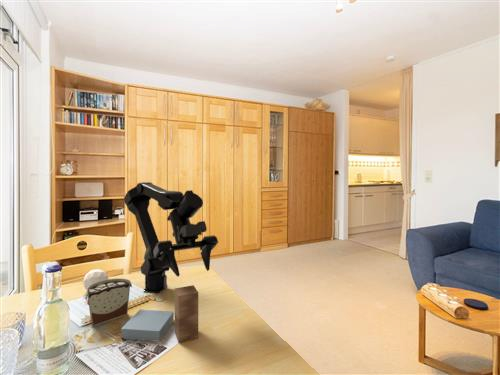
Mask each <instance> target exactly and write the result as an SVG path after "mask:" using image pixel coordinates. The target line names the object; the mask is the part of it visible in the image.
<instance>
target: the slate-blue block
mask: <svg viewBox="0 0 500 375" xmlns="http://www.w3.org/2000/svg"><path fill="white" fill-rule="evenodd" d="M173 321H175V310H174V311H171V310H157V309H156V310H155V309H154V310H153V309H139V310H138V311H137V312H136V313H135V314H134V315H133V316H132V317H131V318H130V319H129V320H128V321H127V322H126V323H125V324H124V325H123V326H122V327H121V329H120V330H121V332H120V334H121V335H120V339H121V338H124V339H123V340H135V339H145V340H144V341H151V340H160V341H161V339H162V338H163V336H164V335H165V333H166V332H167V330H168V329H169V328H170V326H171V324H172V323H173ZM161 337H162V338H161Z"/></svg>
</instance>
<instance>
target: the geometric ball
mask: <svg viewBox="0 0 500 375" xmlns="http://www.w3.org/2000/svg"><path fill="white" fill-rule="evenodd" d="M108 279H109V277H108V273H107V272H106V271H104V270H102V269H100V268H98V269H91V270H90V271H88V272H87V273H86V274H85V275H84V278H83V280H82V284H83V287H84V289H85V290H86V291H87V289H88V287H90V286H91V285H93V284H95V283H97V282H100V281H103V280H108Z"/></svg>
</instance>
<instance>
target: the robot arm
mask: <svg viewBox="0 0 500 375" xmlns="http://www.w3.org/2000/svg"><path fill="white" fill-rule="evenodd" d="M123 197H124V198H123V200H124V202H123V203H124V205H125V206H126V208H127V209H128V211H129V212H131V214H133V215H134V216H135V219H136V222H137V225H138V228H139V232H140V235H141V237H142V240H143V243H144V247H145V252H144V256H143V259H144V261H143V263H142V264H141V266H140V273H141V274H142V275H144V276H145V277H144V280H145V281H144V286H145V287H144V289H143V290H145V291H147V292H146V293H162V291H163V290H164V289H166V287H167V286H168V282H167V279H168V276H167V274H166V272H169V271H170V269H171V271H172V272H173V273H174V275H175V276H176V277H177V278H178V277H180V270H179V266H178V263H177V259H176V256H175V252H176V251H183V250H190V249H198V248H199V249H200V251H201V252H200V256H201V259H202V261H203V265H204V267H205V270H206V271H207V272H208V271H209V270H210V269H211V268H210V265H211V254H212V251H213V249H214V248H215V247H216V246H217V245H218V244H219V240H218V237H217V236H215V235H205V236H204V237H203V238H202V239H201V240H198V238H199V236H202V235H203V233H206V232H207V230H208V229H207V228H208V227H207V224H206V221H204V220H203V221H201V220H200V221H198V222H196V223H193V222H192V223H191V221H190V219H191V218H193V217H194V216H195V215H196V214H197V212H198V211H199V210H201V208H202V207H203V206H204V205H203V204H204V200H203V198H202V197H200V196H199V195H198V194H196V193H194V191H193V190H192V189H191V190H186V191H185V192H184V193H183V192H182V191H177V190H167V189H166V188H165V189H164V188H162V187H159V186H158V185H155V184H154V183H152V182H148V181H147V182H146V181H145V182H142V181H141V182H139V183H137V184H136V186H134V187H132V188H131V189H129V190H128V191H126V193H125V195H124V196H123ZM151 199H152V200H154V201H156V202H157V205H158V207H159V208H161V209H162V210H164V211H168V210H169V211H170V210H171V211H170V212H169V215H168V216H167V218H166V220H167V221H170V224H171V228H172V237H174V240H175V243H174V244H173V242H172V241H171V240H162V241H161V240H160V241H159V238H158V235H157V232H156V229H155V227H154V223H153V221H152V218H151V215H150V212H149V206H150V203H151V202H150V201H151ZM196 240H197V241H196Z"/></svg>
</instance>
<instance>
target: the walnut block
mask: <svg viewBox="0 0 500 375" xmlns="http://www.w3.org/2000/svg"><path fill="white" fill-rule="evenodd" d="M174 334H175V336H176V337H175V338H176V340H177V343H178V344H182V343H184V342H189V341H192V340H193V341H194V340H197V339H199V291H198V290H197V288H196V287H195V285H194V284H191V285H186V286H181V287H175V288H174Z"/></svg>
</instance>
